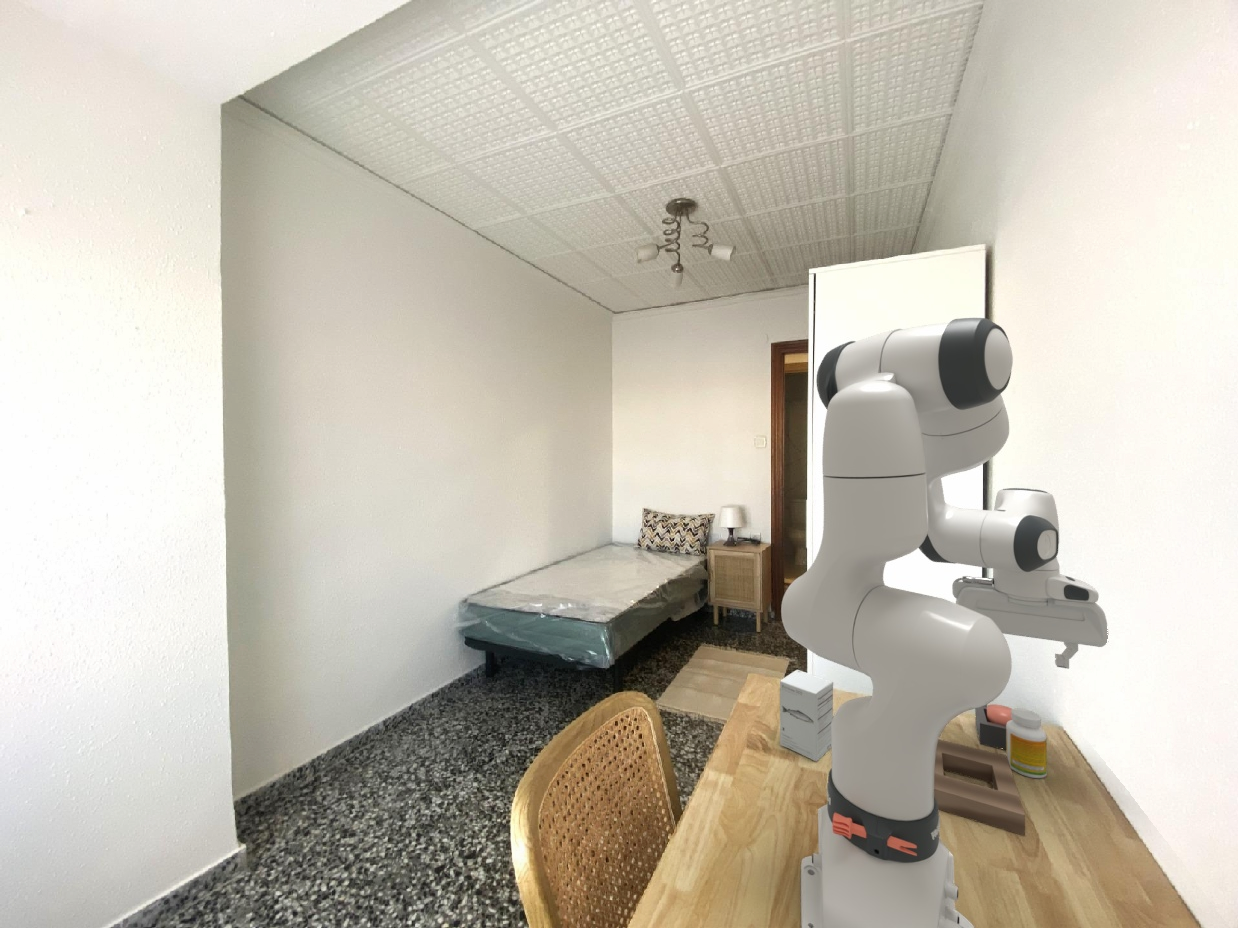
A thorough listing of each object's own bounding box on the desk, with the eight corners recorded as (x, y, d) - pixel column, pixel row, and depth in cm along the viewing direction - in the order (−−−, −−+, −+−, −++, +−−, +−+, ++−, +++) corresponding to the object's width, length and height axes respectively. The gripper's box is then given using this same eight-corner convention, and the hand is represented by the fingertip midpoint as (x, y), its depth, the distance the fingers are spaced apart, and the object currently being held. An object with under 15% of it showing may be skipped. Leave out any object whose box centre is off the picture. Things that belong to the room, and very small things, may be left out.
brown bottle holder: (1025, 835, 69) (1025, 815, 69) (926, 805, 75) (926, 786, 75) (1007, 772, 83) (1006, 755, 83) (924, 751, 89) (924, 735, 89)
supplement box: (778, 745, 92) (778, 679, 91) (797, 730, 96) (797, 667, 96) (816, 763, 86) (815, 693, 86) (834, 746, 91) (834, 680, 91)
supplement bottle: (1054, 781, 80) (1054, 723, 80) (1017, 777, 82) (1017, 720, 81) (1034, 761, 86) (1033, 707, 86) (999, 757, 87) (999, 704, 87)
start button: (1022, 736, 89) (1022, 720, 89) (988, 729, 92) (988, 713, 91) (1017, 723, 93) (1017, 708, 93) (985, 716, 96) (985, 701, 96)
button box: (1035, 757, 87) (1034, 735, 87) (980, 743, 91) (979, 722, 91) (1026, 735, 94) (1026, 714, 94) (975, 723, 98) (975, 704, 98)
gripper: (953, 578, 86) (954, 655, 86) (1112, 593, 75) (1112, 681, 75) (951, 571, 91) (951, 643, 92) (1099, 584, 81) (1099, 666, 81)
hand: (1025, 660), depth 83 cm, fingers open, 8 cm apart
